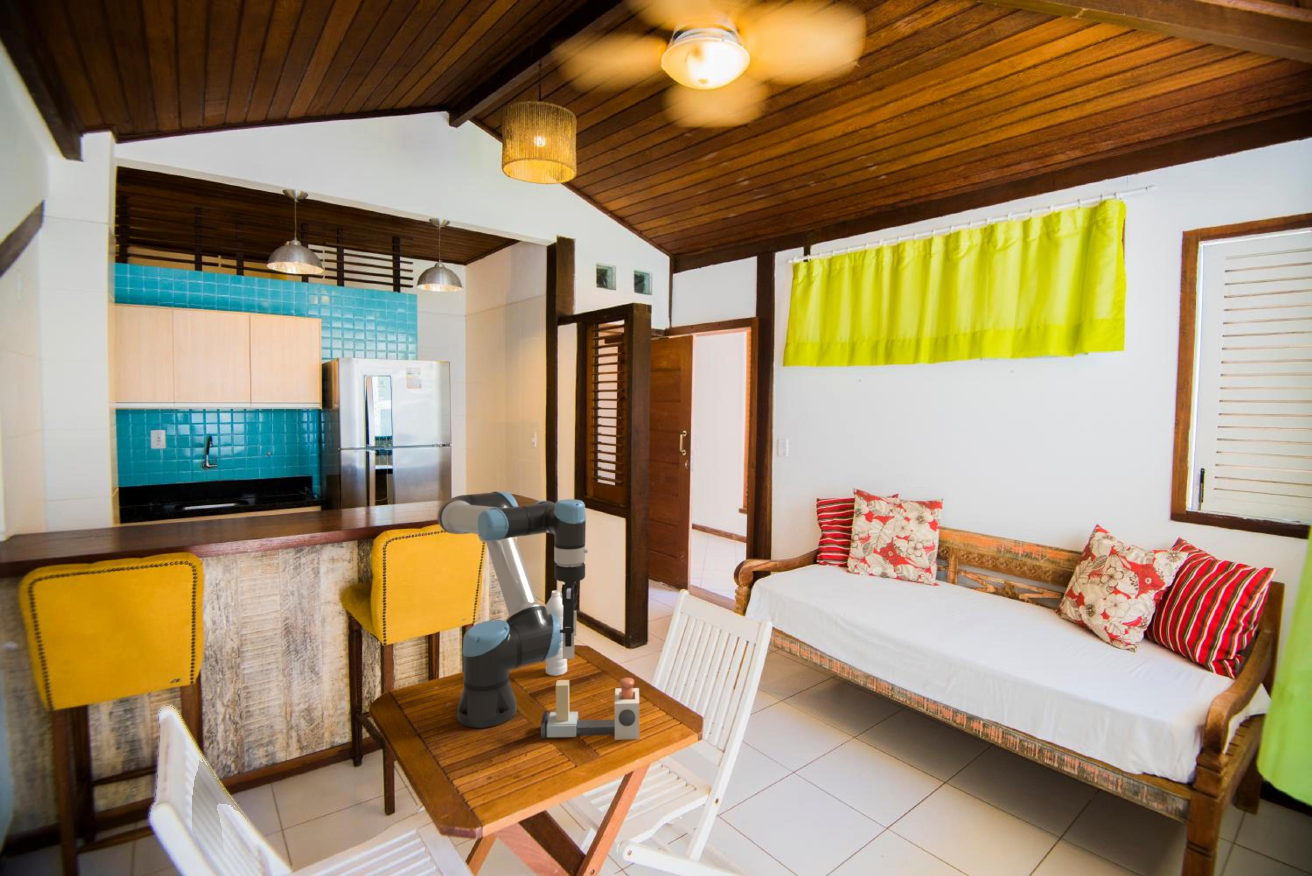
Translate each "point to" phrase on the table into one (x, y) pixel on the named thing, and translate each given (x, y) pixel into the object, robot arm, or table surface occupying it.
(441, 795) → the table surface
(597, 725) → the rail
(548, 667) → the water bottle
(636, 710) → the grey box housing
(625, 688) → the button
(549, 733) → the carriage
